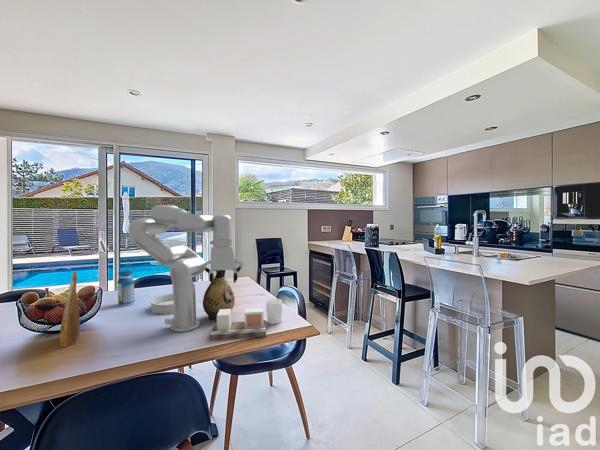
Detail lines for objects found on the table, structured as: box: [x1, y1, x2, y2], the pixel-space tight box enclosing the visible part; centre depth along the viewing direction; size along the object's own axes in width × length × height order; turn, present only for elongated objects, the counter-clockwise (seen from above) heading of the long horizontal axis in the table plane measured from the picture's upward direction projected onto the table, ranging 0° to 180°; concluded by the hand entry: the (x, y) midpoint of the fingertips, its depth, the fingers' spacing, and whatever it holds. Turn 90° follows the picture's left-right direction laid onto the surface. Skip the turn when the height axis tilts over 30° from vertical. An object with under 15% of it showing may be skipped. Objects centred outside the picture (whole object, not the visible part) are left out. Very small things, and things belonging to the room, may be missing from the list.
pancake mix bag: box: [59, 270, 81, 348], centre depth 121 cm, size 7×19×28 cm, turn 30°
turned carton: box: [216, 309, 232, 331], centre depth 127 cm, size 8×5×7 cm, turn 7°
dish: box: [150, 293, 174, 315], centre depth 163 cm, size 22×22×5 cm
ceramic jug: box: [202, 270, 236, 322], centre depth 146 cm, size 17×15×30 cm
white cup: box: [265, 298, 283, 325], centre depth 138 cm, size 8×8×10 cm
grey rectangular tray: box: [209, 319, 267, 341], centre depth 127 cm, size 23×13×3 cm, turn 97°
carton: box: [244, 307, 265, 329], centre depth 128 cm, size 8×5×7 cm, turn 97°
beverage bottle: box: [116, 268, 136, 307], centre depth 169 cm, size 8×8×20 cm
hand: (223, 282), depth 126 cm, fingers open, 9 cm apart
